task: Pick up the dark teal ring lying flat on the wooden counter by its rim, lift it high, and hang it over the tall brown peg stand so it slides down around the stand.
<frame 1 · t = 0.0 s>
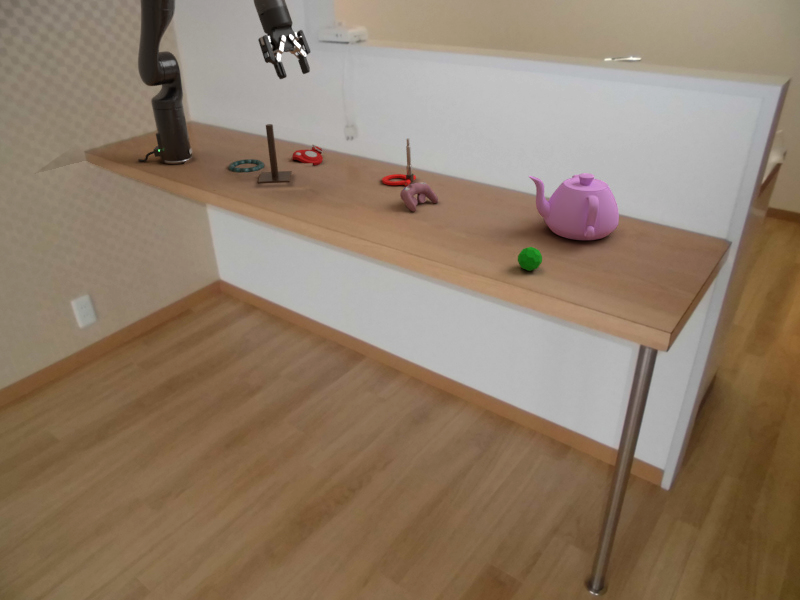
hand: (295, 75, 158), 31 cm above the breakfast bar, tool tilted 20°, fingers open, 8 cm apart
brown peg stand: (275, 181, 182), on the breakfast bar
tracker holder: (312, 161, 200), on the breakfast bar
ring: (246, 166, 192), point 1 cm above the breakfast bar
polyhedron: (528, 269, 130), on the breakfast bar
video game controller: (418, 206, 163), on the breakfast bar
teapot: (569, 231, 147), on the breakfast bar
tow hook: (397, 182, 181), on the breakfast bar
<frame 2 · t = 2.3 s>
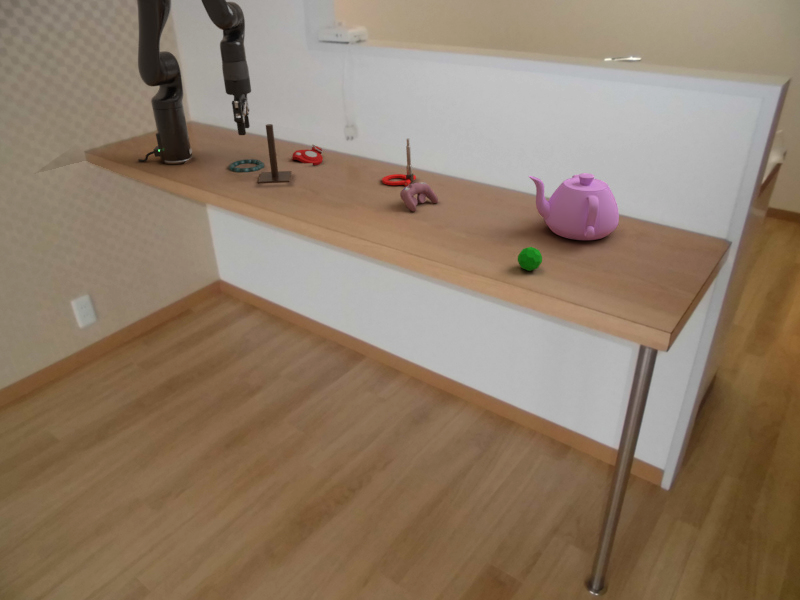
hand: (244, 131, 191), 11 cm above the breakfast bar, tool pointing down, fingers open, 8 cm apart
nothing on the breakfast bar moved.
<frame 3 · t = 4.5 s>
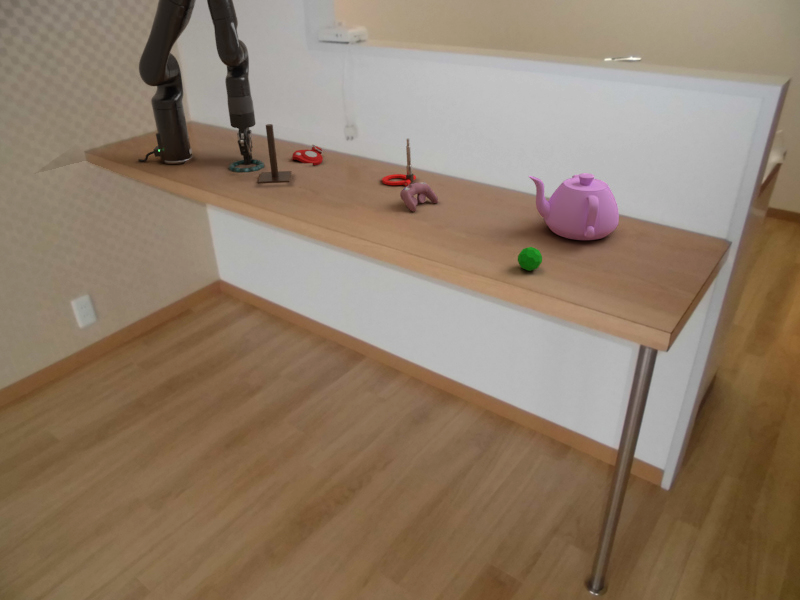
hand: (248, 165, 196), 0 cm above the breakfast bar, tool pointing down, fingers closed on ring, 2 cm apart
ring: (246, 166, 192), point 1 cm above the breakfast bar, touching gripper
everything else where it was.
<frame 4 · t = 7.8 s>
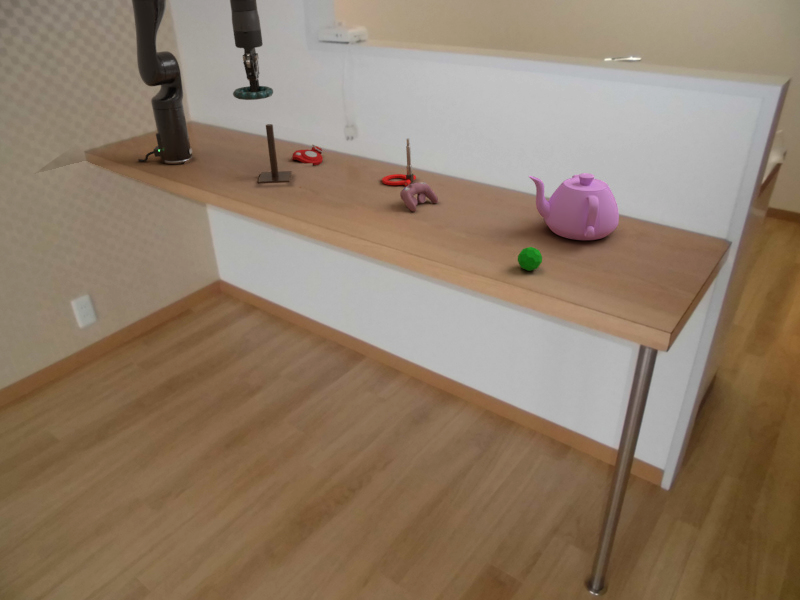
hand: (255, 92, 179), 24 cm above the breakfast bar, tool pointing down, fingers closed on ring
ring: (253, 92, 175), point 24 cm above the breakfast bar, touching gripper
everything else where it was.
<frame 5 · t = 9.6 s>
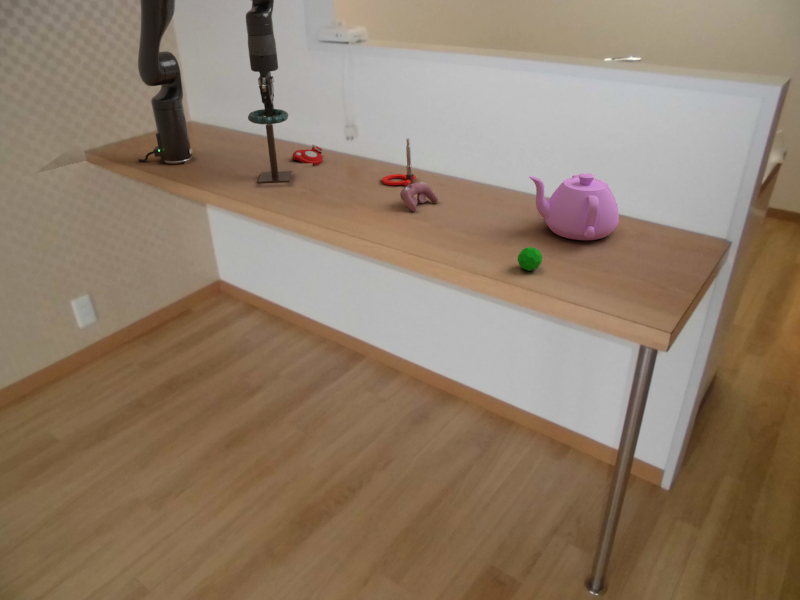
hand: (270, 115, 177), 18 cm above the breakfast bar, tool pointing down, fingers closed on ring
ring: (268, 116, 173), point 19 cm above the breakfast bar, touching gripper
everything else where it was.
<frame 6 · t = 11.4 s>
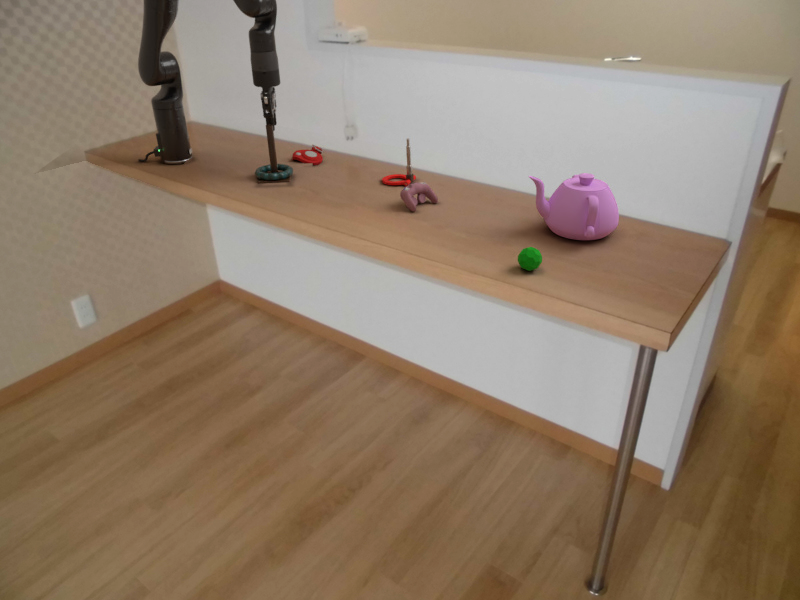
hand: (271, 127, 180), 14 cm above the breakfast bar, tool pointing down, fingers open, 5 cm apart
ring: (274, 171, 182), point 3 cm above the breakfast bar, touching brown peg stand
everything else where it was.
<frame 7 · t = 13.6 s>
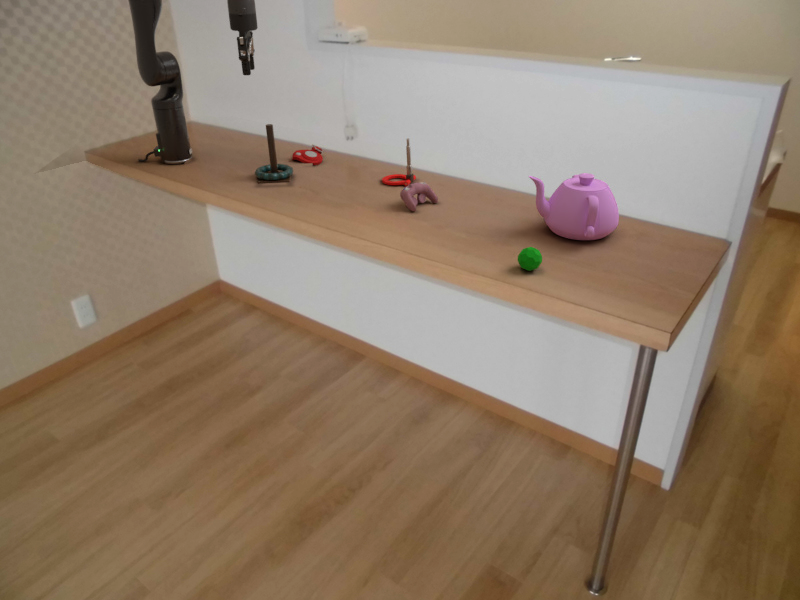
hand: (249, 72, 180), 29 cm above the breakfast bar, tool pointing down, fingers open, 8 cm apart
nothing on the breakfast bar moved.
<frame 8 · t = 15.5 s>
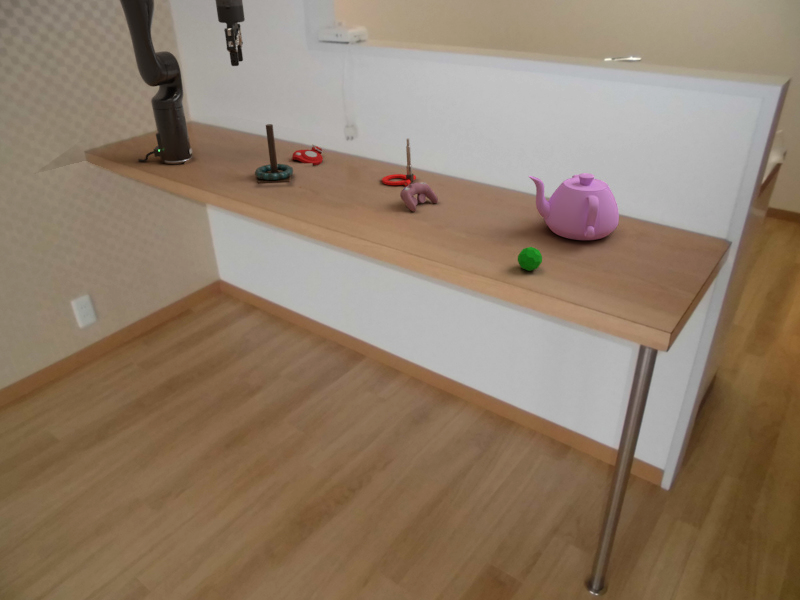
hand: (237, 63, 185), 30 cm above the breakfast bar, tool pointing down, fingers open, 8 cm apart
nothing on the breakfast bar moved.
at the end: ring 1.0 cm from the brown peg stand (horizontally); ring point 2.5 cm above the breakfast bar; the gripper is holding nothing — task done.
